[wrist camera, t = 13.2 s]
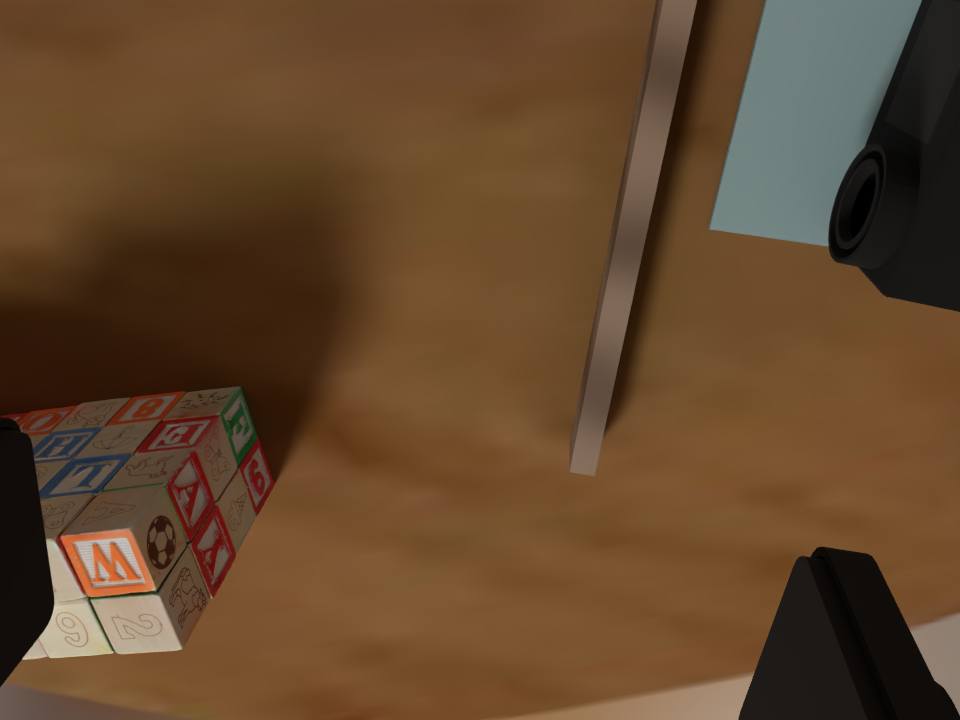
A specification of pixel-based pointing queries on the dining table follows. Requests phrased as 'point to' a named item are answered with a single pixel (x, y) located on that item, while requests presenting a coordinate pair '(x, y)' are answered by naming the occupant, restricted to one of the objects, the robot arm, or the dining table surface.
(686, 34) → the twin metal rails
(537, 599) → the dining table surface
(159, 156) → the dining table surface
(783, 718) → the robot arm
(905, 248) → the digital camera
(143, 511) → the stack of blocks
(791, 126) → the front mat
